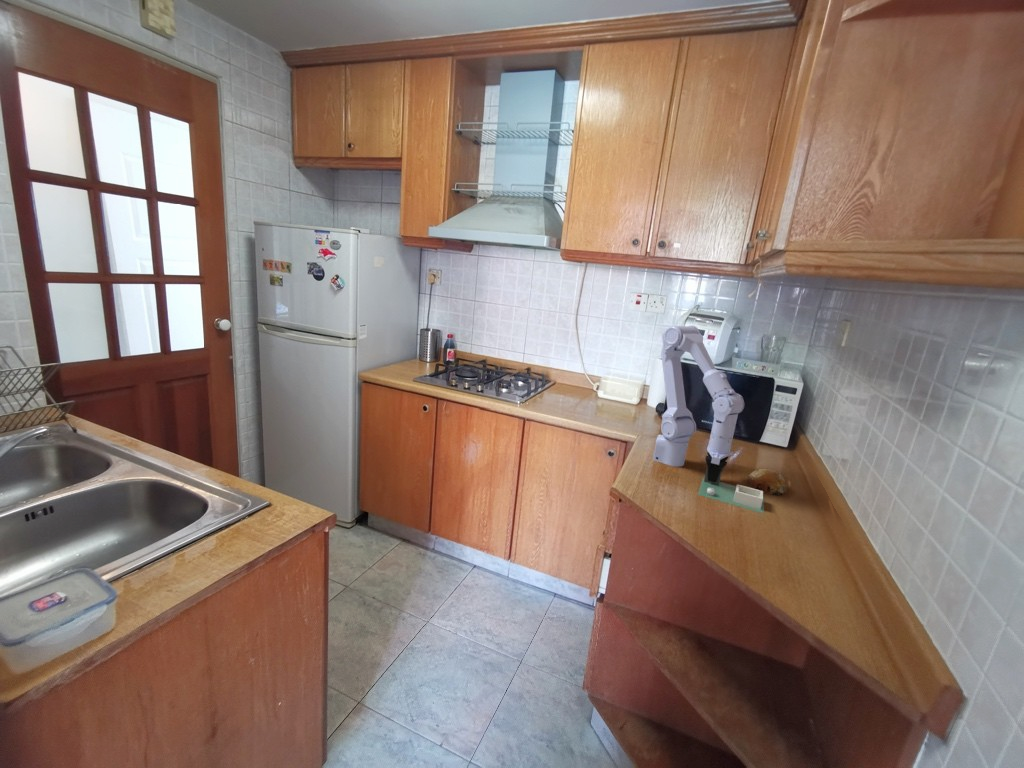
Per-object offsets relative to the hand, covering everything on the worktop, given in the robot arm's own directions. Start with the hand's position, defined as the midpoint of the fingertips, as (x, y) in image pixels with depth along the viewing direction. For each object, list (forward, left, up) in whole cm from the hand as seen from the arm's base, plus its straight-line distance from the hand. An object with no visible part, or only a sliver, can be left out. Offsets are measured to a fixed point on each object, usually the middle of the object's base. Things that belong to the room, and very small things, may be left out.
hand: (712, 478), depth 130 cm
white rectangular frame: (+9, -7, -1) cm, 12 cm away
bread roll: (+14, +7, -2) cm, 16 cm away
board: (+5, -5, -2) cm, 8 cm away
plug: (0, 0, -1) cm, 1 cm away
